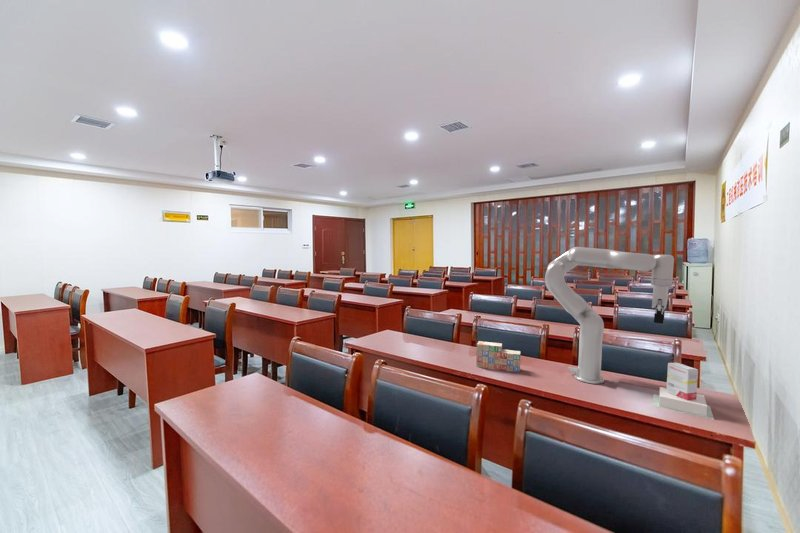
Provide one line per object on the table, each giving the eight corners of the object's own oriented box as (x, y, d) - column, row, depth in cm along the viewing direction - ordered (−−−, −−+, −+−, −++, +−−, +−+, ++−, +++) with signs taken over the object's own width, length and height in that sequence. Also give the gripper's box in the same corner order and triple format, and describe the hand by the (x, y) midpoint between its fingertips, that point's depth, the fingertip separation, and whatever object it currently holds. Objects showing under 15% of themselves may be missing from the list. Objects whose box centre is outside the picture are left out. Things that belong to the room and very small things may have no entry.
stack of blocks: (520, 369, 182) (521, 345, 181) (519, 373, 176) (520, 348, 175) (477, 363, 190) (478, 340, 189) (475, 367, 184) (476, 343, 183)
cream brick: (659, 406, 138) (659, 396, 138) (659, 396, 148) (659, 386, 148) (706, 416, 130) (707, 406, 130) (703, 405, 140) (704, 395, 140)
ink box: (697, 399, 136) (699, 369, 135) (686, 400, 134) (688, 369, 134) (675, 390, 144) (677, 361, 143) (665, 391, 143) (667, 362, 142)
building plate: (652, 408, 139) (652, 405, 139) (653, 396, 150) (653, 394, 150) (713, 422, 128) (714, 419, 128) (709, 408, 139) (709, 405, 139)
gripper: (652, 280, 166) (650, 317, 167) (649, 283, 152) (647, 323, 153) (672, 282, 161) (670, 319, 162) (671, 285, 147) (669, 325, 148)
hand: (659, 321), depth 158 cm, fingers open, 9 cm apart
